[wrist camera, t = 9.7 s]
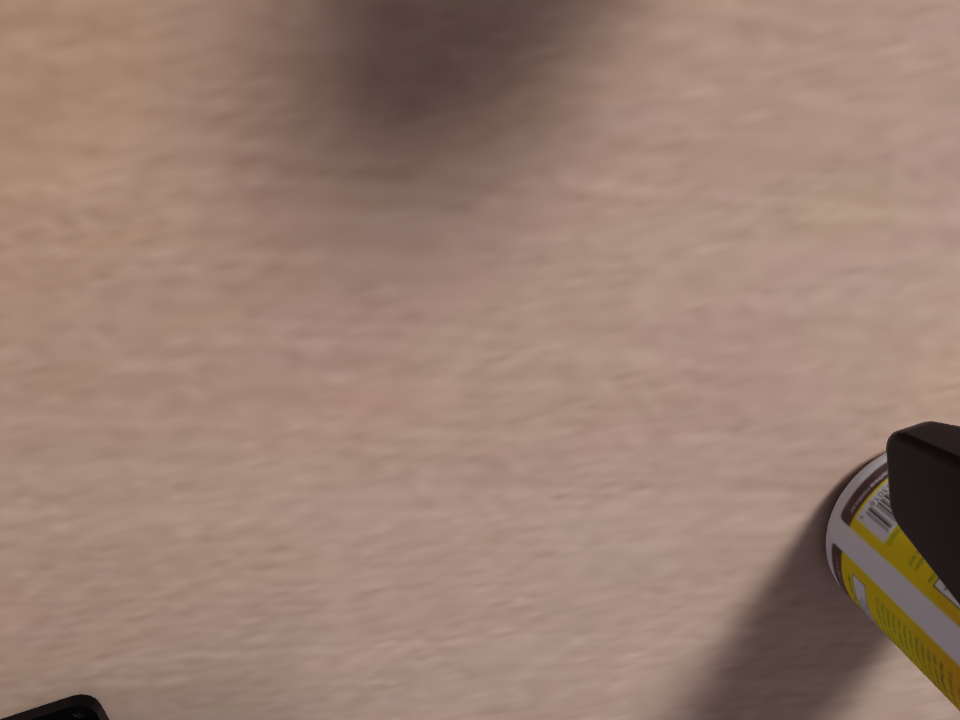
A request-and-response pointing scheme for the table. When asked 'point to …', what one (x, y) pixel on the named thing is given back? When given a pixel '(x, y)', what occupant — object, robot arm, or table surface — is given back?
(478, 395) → the table surface
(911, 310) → the table surface
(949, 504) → the robot arm
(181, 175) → the table surface
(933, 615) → the supplement bottle
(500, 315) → the table surface
